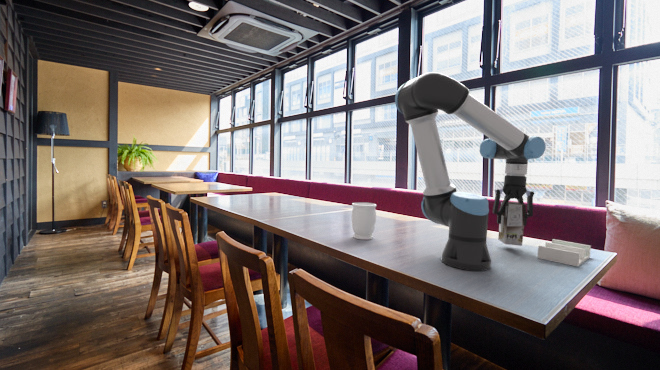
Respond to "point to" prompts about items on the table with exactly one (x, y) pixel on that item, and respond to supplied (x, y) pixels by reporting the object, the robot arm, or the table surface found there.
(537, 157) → the robot arm
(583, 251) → the comb rack
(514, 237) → the coffee box
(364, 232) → the jar
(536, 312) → the table surface
